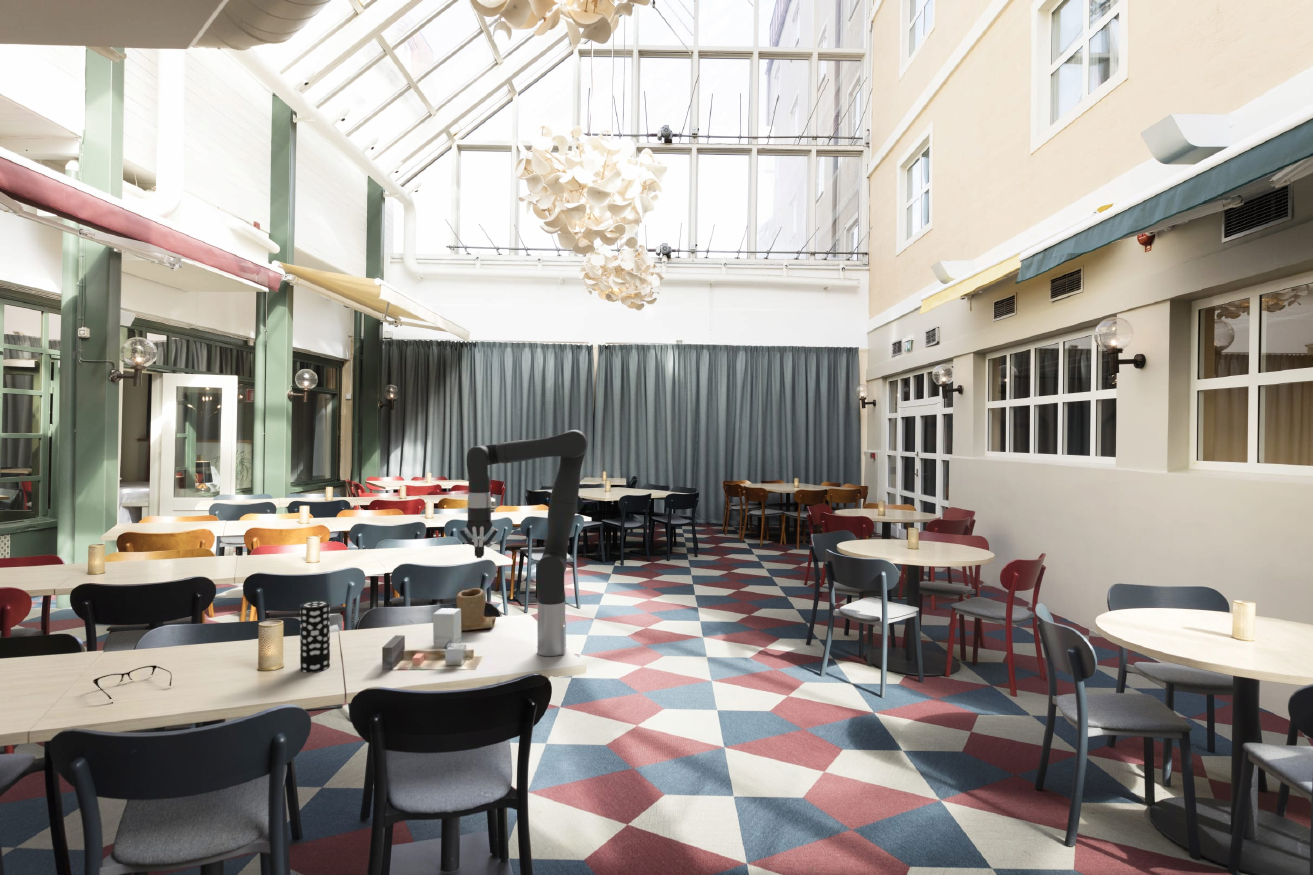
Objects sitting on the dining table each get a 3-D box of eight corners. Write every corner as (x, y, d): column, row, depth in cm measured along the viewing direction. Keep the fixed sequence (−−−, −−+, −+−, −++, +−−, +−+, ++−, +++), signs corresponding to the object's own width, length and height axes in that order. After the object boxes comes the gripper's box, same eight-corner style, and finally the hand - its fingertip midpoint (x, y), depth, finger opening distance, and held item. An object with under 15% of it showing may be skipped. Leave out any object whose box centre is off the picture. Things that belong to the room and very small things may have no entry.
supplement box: (461, 644, 241) (462, 608, 241) (453, 651, 234) (453, 613, 233) (441, 643, 242) (441, 607, 241) (432, 650, 234) (432, 613, 234)
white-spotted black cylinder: (294, 670, 215) (293, 606, 214) (315, 661, 222) (315, 599, 222) (314, 674, 212) (314, 608, 211) (336, 665, 220) (335, 602, 219)
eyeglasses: (158, 675, 210) (158, 662, 210) (177, 688, 201) (176, 674, 201) (89, 692, 198) (89, 678, 197) (106, 706, 188) (106, 692, 188)
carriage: (466, 658, 221) (466, 639, 221) (461, 665, 215) (461, 645, 215) (449, 658, 221) (449, 639, 221) (444, 665, 215) (444, 645, 215)
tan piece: (453, 635, 251) (453, 594, 251) (454, 625, 263) (454, 586, 262) (496, 632, 255) (497, 591, 255) (495, 623, 267) (495, 584, 266)
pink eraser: (423, 660, 220) (423, 653, 219) (420, 665, 216) (420, 657, 216) (416, 661, 219) (416, 653, 219) (412, 665, 215) (412, 657, 215)
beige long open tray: (483, 660, 224) (483, 634, 224) (475, 674, 212) (475, 646, 212) (395, 661, 223) (395, 635, 223) (382, 675, 211) (382, 647, 211)
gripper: (501, 504, 235) (501, 555, 236) (461, 504, 235) (461, 555, 235) (497, 507, 228) (497, 559, 228) (456, 507, 227) (456, 559, 227)
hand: (479, 557), depth 232 cm, fingers closed
